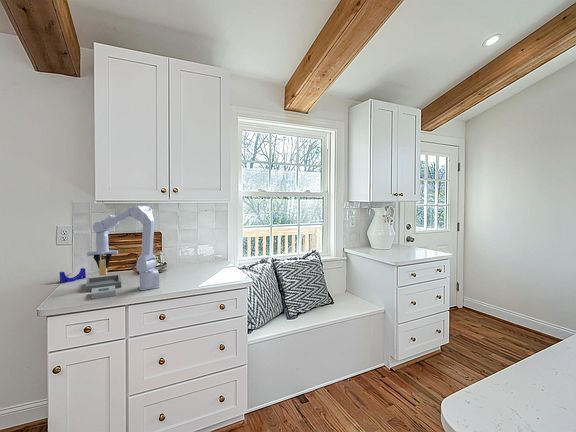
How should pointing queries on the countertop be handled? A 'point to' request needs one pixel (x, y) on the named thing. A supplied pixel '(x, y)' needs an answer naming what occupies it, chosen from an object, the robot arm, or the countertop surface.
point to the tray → (103, 282)
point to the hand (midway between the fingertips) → (103, 268)
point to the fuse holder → (103, 292)
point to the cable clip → (65, 279)
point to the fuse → (102, 267)
